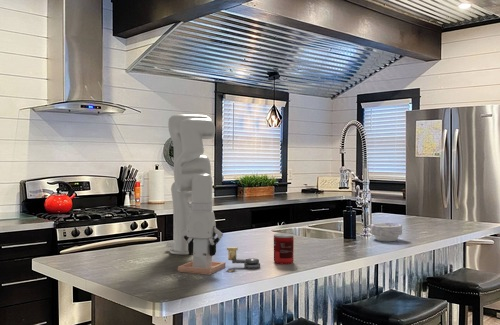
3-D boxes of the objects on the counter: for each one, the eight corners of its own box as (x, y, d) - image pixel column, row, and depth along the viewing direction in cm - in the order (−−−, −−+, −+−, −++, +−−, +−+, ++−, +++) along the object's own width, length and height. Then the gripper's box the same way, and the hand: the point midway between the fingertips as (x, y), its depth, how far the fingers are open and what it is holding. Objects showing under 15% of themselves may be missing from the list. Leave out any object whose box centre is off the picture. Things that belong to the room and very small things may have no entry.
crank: (259, 261, 193) (259, 246, 193) (258, 264, 188) (258, 248, 188) (227, 261, 193) (227, 246, 193) (226, 264, 188) (226, 248, 188)
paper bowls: (364, 240, 254) (364, 224, 254) (381, 236, 264) (381, 221, 264) (390, 243, 243) (390, 227, 243) (408, 240, 253) (408, 224, 253)
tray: (177, 271, 184) (177, 266, 184) (195, 264, 196) (195, 259, 196) (209, 274, 179) (209, 269, 179) (225, 267, 191) (225, 262, 191)
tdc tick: (229, 272, 182) (229, 271, 182) (228, 271, 183) (228, 270, 183) (234, 271, 184) (234, 270, 184) (232, 270, 184) (232, 270, 184)
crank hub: (241, 268, 189) (241, 264, 189) (248, 265, 194) (248, 261, 194) (256, 269, 187) (256, 265, 187) (262, 266, 192) (262, 262, 192)
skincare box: (192, 268, 187) (192, 235, 187) (198, 265, 191) (199, 233, 191) (206, 269, 184) (206, 236, 184) (212, 267, 188) (213, 234, 188)
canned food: (281, 259, 205) (281, 232, 205) (297, 262, 200) (297, 234, 200) (269, 262, 199) (269, 234, 199) (286, 265, 194) (286, 236, 194)
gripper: (176, 207, 187) (176, 254, 187) (218, 209, 180) (218, 258, 181) (186, 205, 194) (186, 251, 194) (227, 207, 187) (227, 254, 187)
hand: (202, 254), depth 187 cm, fingers open, 8 cm apart
